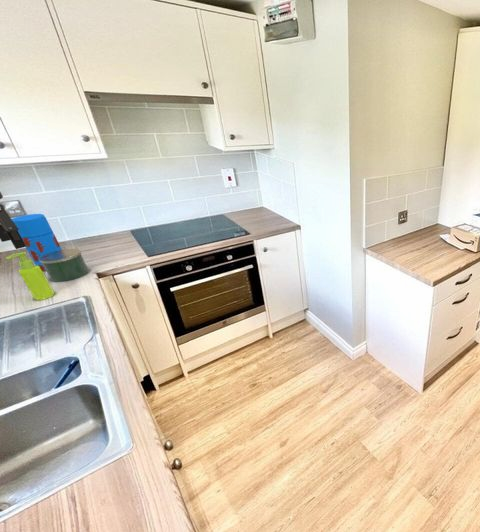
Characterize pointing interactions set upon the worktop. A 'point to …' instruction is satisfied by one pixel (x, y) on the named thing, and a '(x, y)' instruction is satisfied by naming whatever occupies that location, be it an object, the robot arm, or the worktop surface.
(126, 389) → the worktop surface
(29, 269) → the soap dispenser
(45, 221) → the blue spotted box
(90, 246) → the worktop surface
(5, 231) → the robot arm
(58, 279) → the tin
